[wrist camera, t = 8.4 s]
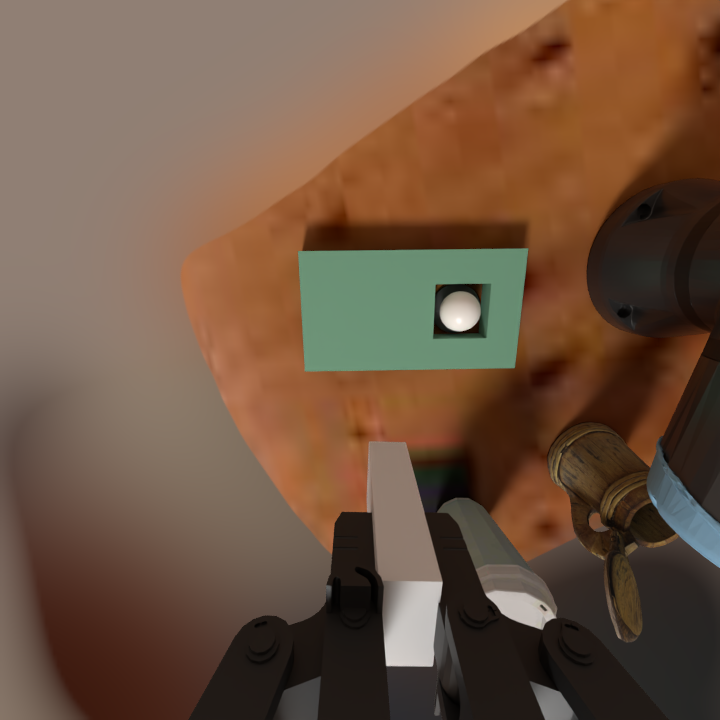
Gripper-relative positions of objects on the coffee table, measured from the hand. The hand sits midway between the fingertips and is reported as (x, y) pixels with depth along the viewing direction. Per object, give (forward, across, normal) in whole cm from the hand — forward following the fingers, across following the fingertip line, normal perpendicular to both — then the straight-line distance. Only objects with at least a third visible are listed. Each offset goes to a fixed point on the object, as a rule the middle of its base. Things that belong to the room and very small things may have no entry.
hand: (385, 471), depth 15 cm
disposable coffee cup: (+26, -12, +23) cm, 36 cm away
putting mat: (+25, -4, -3) cm, 26 cm away
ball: (+23, -9, -4) cm, 25 cm away
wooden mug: (+26, -25, +15) cm, 39 cm away
